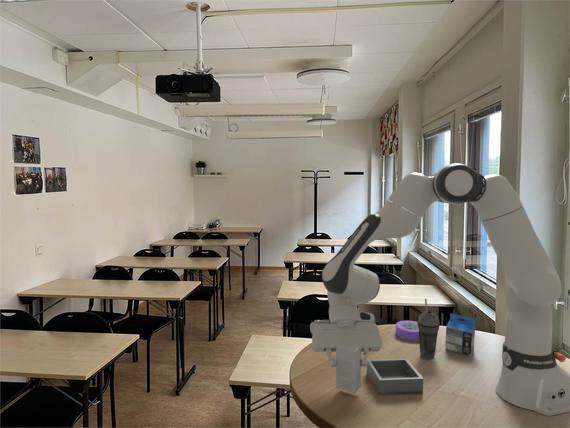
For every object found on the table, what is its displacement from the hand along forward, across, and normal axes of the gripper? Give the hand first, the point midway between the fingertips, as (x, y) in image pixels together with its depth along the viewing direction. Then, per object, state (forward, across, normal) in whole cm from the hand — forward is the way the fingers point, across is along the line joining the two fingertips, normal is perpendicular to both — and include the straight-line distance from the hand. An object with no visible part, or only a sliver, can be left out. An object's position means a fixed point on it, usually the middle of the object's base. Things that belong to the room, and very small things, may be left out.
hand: (348, 366), depth 114 cm
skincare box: (+4, 0, +5) cm, 7 cm away
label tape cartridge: (-14, +43, +27) cm, 53 cm away
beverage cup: (-11, +31, +24) cm, 40 cm away
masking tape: (-25, +31, +37) cm, 54 cm away
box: (+2, +14, +10) cm, 18 cm away
